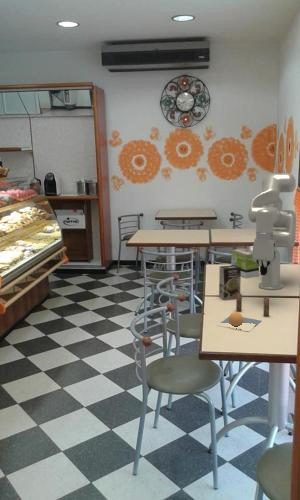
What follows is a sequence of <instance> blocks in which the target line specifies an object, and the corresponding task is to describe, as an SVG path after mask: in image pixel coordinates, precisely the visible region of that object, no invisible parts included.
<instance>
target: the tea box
mask: <svg viewBox="0 0 300 500" xmlns="http://www.w3.org/2000/svg"><path fill="white" fill-rule="evenodd" d="M230 251H231V261H230V263H231V265H236V266H239V267H241V278H244V279H250V278H255V277H259V276H260V266H259V264H258V263H257V262H254V261H253V256H252V253H253V250H252V249H251V250H250V249H248V248H237V249H231V250H230Z"/></svg>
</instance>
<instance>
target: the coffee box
mask: <svg viewBox="0 0 300 500" xmlns="http://www.w3.org/2000/svg"><path fill="white" fill-rule="evenodd" d="M218 270H219V276H218V277H219V279H218V281H219V284H218V285H219V286H218V288H219V289H218V290H219V291H218V297H219V298H221V300H223V301H228V300H236V294H241V281H242V279H241V278H242V276H241V267H239V266H236V265H221V266H219V269H218Z"/></svg>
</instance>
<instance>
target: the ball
mask: <svg viewBox="0 0 300 500" xmlns="http://www.w3.org/2000/svg"><path fill="white" fill-rule="evenodd" d="M228 317H229V322H230V324H231V325H232V326H234V327H238V326H240V325H242V323H243V317H244V316H243V315H242V314H241V312H237V311H236V312H235V311H234V312H232V313H230V315H229V316H228Z"/></svg>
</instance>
